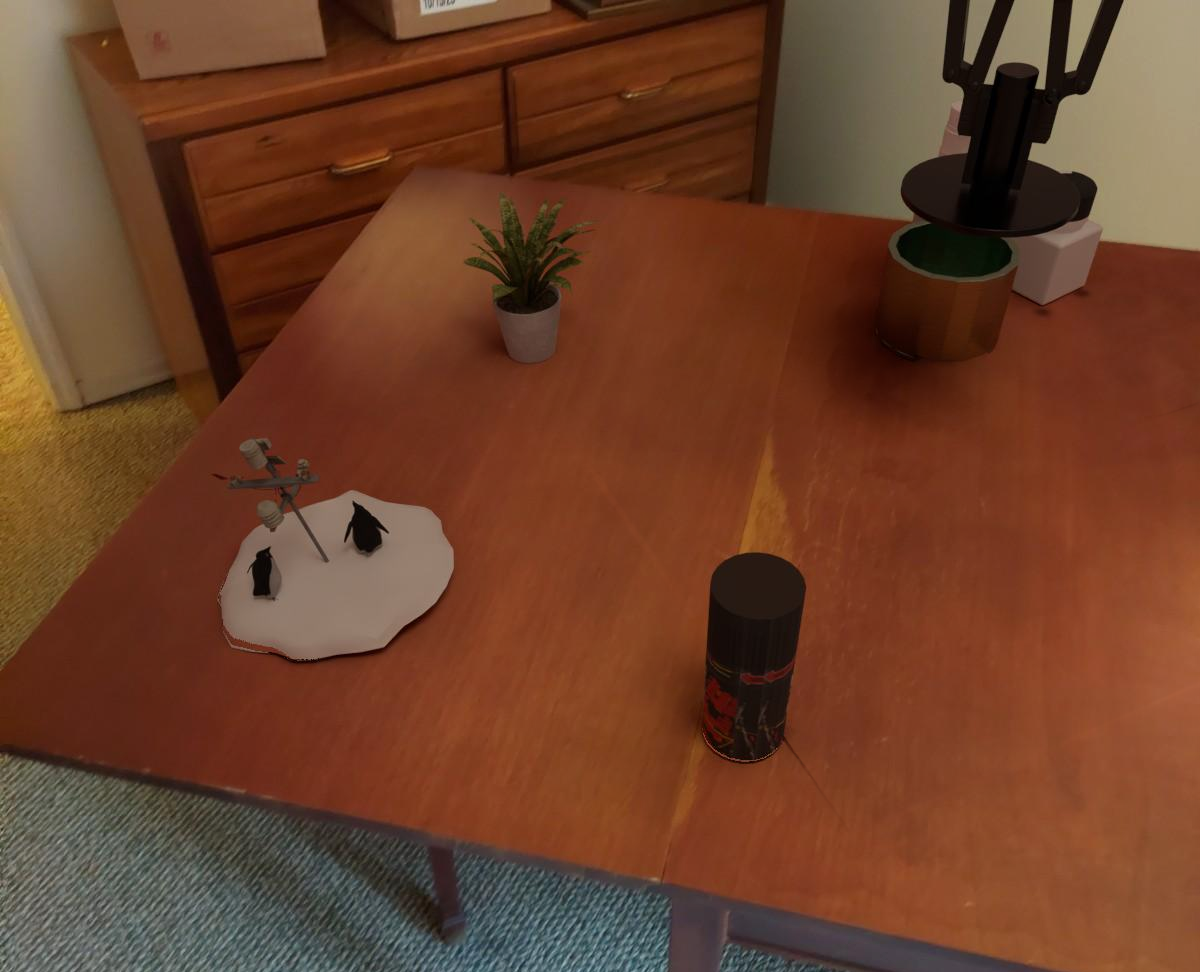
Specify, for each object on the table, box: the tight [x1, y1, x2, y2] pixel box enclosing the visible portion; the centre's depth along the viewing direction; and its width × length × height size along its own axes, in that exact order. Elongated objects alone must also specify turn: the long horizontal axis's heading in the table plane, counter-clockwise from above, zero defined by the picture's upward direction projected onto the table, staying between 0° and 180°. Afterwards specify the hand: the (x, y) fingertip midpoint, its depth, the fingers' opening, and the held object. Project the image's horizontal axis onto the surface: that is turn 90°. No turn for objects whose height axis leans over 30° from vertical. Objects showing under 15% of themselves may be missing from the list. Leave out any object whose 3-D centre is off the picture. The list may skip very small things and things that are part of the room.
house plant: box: [461, 190, 598, 364], centre depth 106 cm, size 14×14×16 cm
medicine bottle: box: [1011, 169, 1104, 306], centre depth 114 cm, size 7×7×12 cm
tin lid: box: [900, 61, 1080, 238], centre depth 81 cm, size 14×14×10 cm
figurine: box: [211, 437, 455, 661], centre depth 83 cm, size 20×18×16 cm
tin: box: [873, 220, 1021, 363], centre depth 109 cm, size 13×13×10 cm
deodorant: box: [701, 551, 807, 765], centre depth 72 cm, size 6×6×15 cm
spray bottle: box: [911, 99, 971, 224], centre depth 115 cm, size 7×7×18 cm
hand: (992, 178), depth 83 cm, fingers closed on tin lid, 3 cm apart
